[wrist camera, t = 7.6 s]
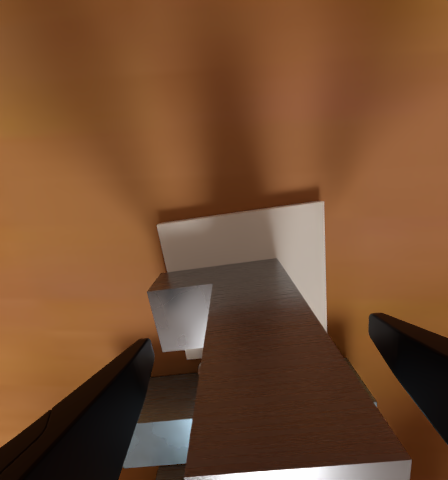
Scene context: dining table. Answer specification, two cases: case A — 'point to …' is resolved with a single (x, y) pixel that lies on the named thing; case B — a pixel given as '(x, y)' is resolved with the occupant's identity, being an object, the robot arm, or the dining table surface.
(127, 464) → the frame
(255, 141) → the dining table surface
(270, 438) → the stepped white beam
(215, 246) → the tile
